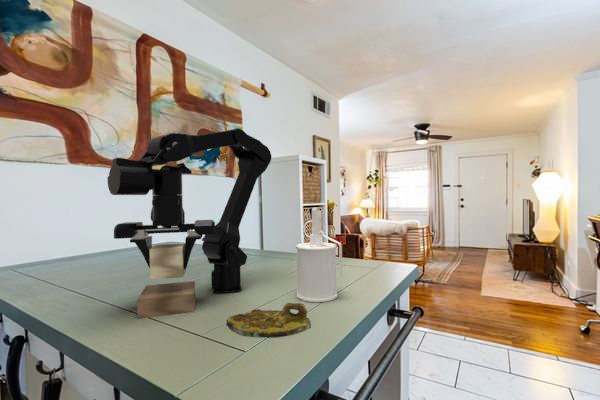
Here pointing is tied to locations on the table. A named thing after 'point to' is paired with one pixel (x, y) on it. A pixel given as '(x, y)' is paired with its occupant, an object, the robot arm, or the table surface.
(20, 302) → the table surface
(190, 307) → the walnut block
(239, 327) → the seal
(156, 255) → the maple cube
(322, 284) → the white cylinder with spout
